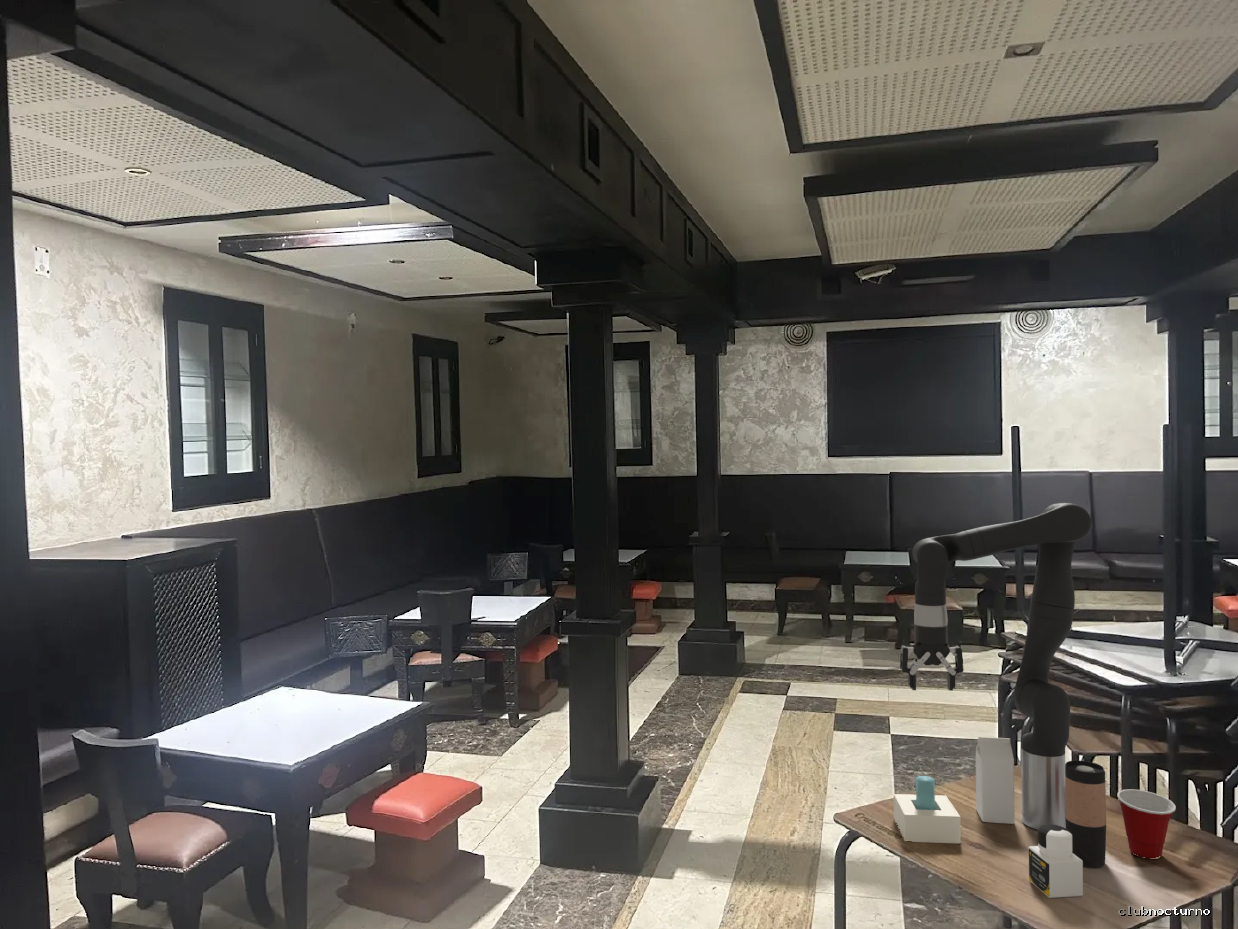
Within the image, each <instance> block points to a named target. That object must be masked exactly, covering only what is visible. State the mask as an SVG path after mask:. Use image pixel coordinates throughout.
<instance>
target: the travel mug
mask: <svg viewBox="0 0 1238 929" xmlns="http://www.w3.org/2000/svg"><path fill="white" fill-rule="evenodd" d="M1106 790H1107V789H1106V770H1105V768H1104V766H1102V765H1101V764H1099V763H1095V762H1092V761H1088V760H1076V759H1075V760H1069V761H1065V822H1066V829H1067V830H1069V831H1070V832H1071V834H1072V853H1073V854H1074V855H1076V856H1077V857H1078V858H1080V859H1081V860H1082V861H1083V868H1089V869H1099V868H1103V867H1104V866H1105V865H1106V855H1107V854H1106V852H1107V850H1106V848H1107V847H1106V846H1107V844H1106V843H1107V804H1106V803H1107V799H1106V798H1107V796H1106V794H1107V792H1106Z"/></svg>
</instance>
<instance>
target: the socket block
mask: <svg viewBox="0 0 1238 929" xmlns="http://www.w3.org/2000/svg"><path fill="white" fill-rule="evenodd" d="M894 819H895V820H894ZM893 820H894V823H895V824H896V823H897V824H896V826H897V825H898V826H897V828H898V830H899V829H900V830H899V832H900V831H901V832H900V835H901V836H902V835H903V836H902V838H903V837H904V838H903V841H905V840H908V841H912V842H911V843H938V844H961V839H962V837H961V815H960V814H959V813H958V811H957V809H956V807H955V806H954V805H953V804H952V802H951V801H950V800H949V798H948V797H947V795H940V794H939V795H937V794H935V810H917V809H916V794H910V793H908V794H904V793H903V794H902V793H893Z"/></svg>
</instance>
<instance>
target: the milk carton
mask: <svg viewBox="0 0 1238 929" xmlns="http://www.w3.org/2000/svg"><path fill="white" fill-rule="evenodd" d="M1013 753H1014V752H1013V749H1012V744H1011V738H1005V737H989V736H988V737H986V736H978V741H977V745H976V747H975V805H976V806H975V809H976V812H977V814H978V816H979V818H980V819H981V821H982V822H983V823H996V824H1009V825H1010V824H1012V825H1014V824H1015V821H1016V820H1015V819H1016V818H1015V817H1016V814H1015V759H1014V754H1013Z"/></svg>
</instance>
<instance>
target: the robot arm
mask: <svg viewBox="0 0 1238 929" xmlns="http://www.w3.org/2000/svg"><path fill="white" fill-rule="evenodd" d="M1088 512H1089V511H1087V510H1086V509H1085V508H1084V507H1082V506H1080V505H1078V504H1076V503H1071V502H1059V503H1053V504H1051V505H1048V507H1046V508H1045V509H1044V510H1043V512H1042V513H1041V514H1039V515H1036V516H1032V517H1028V518H1025V519H1021V520H1016V521H1009V522H1003V523H997V524H991V525H984V526H980V527H975V528H971V529H968V530H963V531H960V532H957V533H953V534H945V535H939V536H932V537H926V538H923V539H920V540H919V541H917V542H916V543H915V544H914V546H913V548H912V552H911V554H912V558H913V560H914V561H915V563H916V564H917V566H916V568H917V569H916V570H917V571H916V572H917V574H916V575H917V577H916V578H917V580H916V582H915V585H914V610H913V611H914V612H913V616H914V617H913V623H914V624H913V625H914V626H913V627H914V628H913V629H914V630H913V631H914V636H913V637H914V643H913V646H907V645H906V646H905V645H901V646H900V660H899V668H900V670H901V671H902V672H903V673H907V674H908V676H907V677H908V681H907V682H908V684H907V685H908V686H909V688H910V689H911V690H912V691H917V675H916V674H917V671H918V670H919V669H921V668H922V666H923V665H925V666H932V665H933V666H940V665H942V666H943V667H944V668H945V670H946V671H947V672H948V673H946V674H947V675H946V676H947V677H946V678H947V679H946V681H947V682H946V683H947V685H946V686H947V690H948V691H950V692H951V691H952V692H953V690H954V689H955V688H956V675H958V674H959V673H964V661H963V660H964V659H963V649H962V648H961V647H960V646H959V645H954V646H951V647H949V643H948V641H949V640H948V622H949V619H948V611H947V590H946V582H947V581H946V580H947V575H948V574H947V573H948V564H949V563H952V562H956V561H962V562H967V561H972V560H977V559H980V558H981V559H982V558H985V557H990V556H994V555H997V554H1001V553H1005V552H1009V551H1012V550H1017V549H1019V548H1020V549H1021V548H1025V547H1031V546H1034V545H1038V560H1037V566H1036V570H1035V576H1034V581H1033V586H1032V587H1033V588H1032V593H1031V597H1030V598H1031V599H1030V604H1029V605H1030V606H1029V612H1028V622H1027V630H1026V635H1025V642H1024V647H1023V654H1022V659H1021V662H1020V666H1019V670H1018V674H1017V678H1016V682H1015V685H1014V691H1013V701H1014V705H1015V708H1016V709H1017V711H1018V712H1020V713H1021V715H1024V716H1026V717H1028V718H1030V719H1032V720H1033V723H1032V724H1033V726H1032V732H1027V733H1025V734H1023V735H1022V736H1021V740H1020V741H1021V743H1020V748H1021V751H1020V753H1021V755H1020V756H1021V820H1022V823H1023V824H1024V825H1025V826H1027V827H1029V828H1032V829H1034V830H1037V831H1038V828H1039V827H1040V826H1042V825H1048V824H1052V825H1058V826H1061V827H1064V828H1066V822H1065V764H1066V746H1067V744H1068V742H1069V739H1070V725H1071V703H1070V702H1071V701H1070V698H1069V695H1068V693H1067V692H1066V691H1065V690H1064V688H1062V687H1061V686H1058V685H1057V684H1054V683H1051V682H1049V676H1050V675H1049V674H1050V670H1051V664H1052V661H1053V658H1054V656H1055V654H1056V653H1057V651H1058V650H1059V648H1060V647H1061V646H1062V644H1063V643H1064V642H1065V640H1066V639H1067V638H1068V636H1069V634H1070V632H1071V630H1072V625H1073V619H1074V614H1075V606H1076V605H1075V604H1076V603H1075V602H1076V600H1075V599H1076V594H1075V586H1074V585H1075V584H1074V579H1073V573H1072V572H1073V571H1072V559H1073V554H1074V550H1075V545H1076V544H1075V543H1076V542H1078V541H1080V540H1082V539H1084V538H1085V537H1086V536H1087V535H1088V534H1089V532H1090V531H1091V527H1092V518H1091V516H1090V513H1088ZM911 653H914V655H915V658H914V659H913V660H912V662H911V664H910V665H909V664H908V661H909V660H908V658H909V657H910V655H912V654H911ZM950 653H951V655H952V656H953V657H954V665H955V666H954V667H952V665H951V664H950V662H949V661H948V659H946V658H947V657H948V656H949V654H950ZM908 665H909V666H908Z"/></svg>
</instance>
